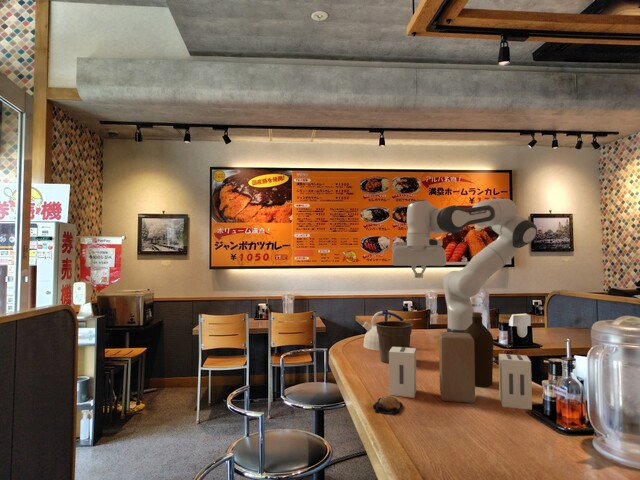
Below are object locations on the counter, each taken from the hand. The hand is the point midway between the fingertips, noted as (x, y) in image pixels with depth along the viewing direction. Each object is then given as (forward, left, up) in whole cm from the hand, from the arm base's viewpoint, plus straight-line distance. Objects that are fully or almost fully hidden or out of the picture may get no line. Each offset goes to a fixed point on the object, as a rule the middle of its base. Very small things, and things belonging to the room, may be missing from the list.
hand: (418, 277), depth 157 cm
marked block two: (-4, +37, -37) cm, 52 cm away
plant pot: (-7, -23, -37) cm, 44 cm away
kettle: (-21, -48, -38) cm, 64 cm away
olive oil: (-12, +17, -37) cm, 43 cm away
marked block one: (+18, +11, -37) cm, 43 cm away
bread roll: (+32, +20, -38) cm, 53 cm away
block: (+7, +24, -37) cm, 45 cm away
